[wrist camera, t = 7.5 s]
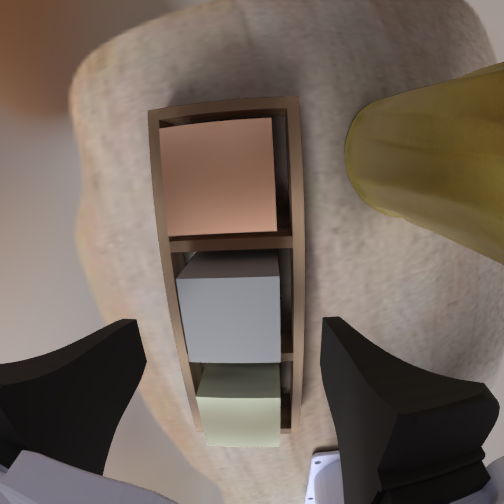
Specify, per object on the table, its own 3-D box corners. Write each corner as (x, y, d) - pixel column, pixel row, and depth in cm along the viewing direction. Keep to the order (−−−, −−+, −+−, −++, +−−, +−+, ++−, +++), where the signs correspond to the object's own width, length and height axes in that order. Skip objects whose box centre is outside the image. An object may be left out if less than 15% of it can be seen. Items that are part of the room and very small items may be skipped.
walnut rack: (297, 411, 18) (301, 457, 15) (202, 411, 19) (190, 455, 15) (294, 105, 13) (303, 84, 9) (162, 116, 14) (128, 103, 10)
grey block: (278, 318, 17) (280, 362, 13) (205, 319, 17) (190, 362, 13) (276, 247, 15) (279, 276, 12) (197, 250, 16) (175, 278, 12)
